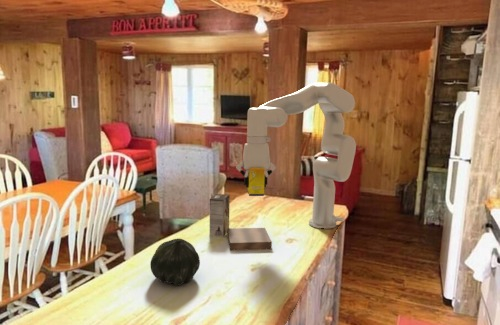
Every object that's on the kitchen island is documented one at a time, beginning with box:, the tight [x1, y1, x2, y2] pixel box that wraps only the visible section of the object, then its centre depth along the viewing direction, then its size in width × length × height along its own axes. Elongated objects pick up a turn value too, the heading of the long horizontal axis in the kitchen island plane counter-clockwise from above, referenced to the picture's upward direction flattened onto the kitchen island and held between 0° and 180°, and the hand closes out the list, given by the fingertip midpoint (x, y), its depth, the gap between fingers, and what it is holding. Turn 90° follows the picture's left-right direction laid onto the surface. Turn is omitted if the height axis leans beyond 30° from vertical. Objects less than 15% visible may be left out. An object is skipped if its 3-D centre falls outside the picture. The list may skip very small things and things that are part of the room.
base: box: [226, 227, 273, 251], centre depth 157 cm, size 16×16×3 cm
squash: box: [150, 238, 201, 286], centre depth 123 cm, size 14×15×15 cm
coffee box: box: [209, 193, 231, 238], centre depth 165 cm, size 9×6×16 cm
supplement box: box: [246, 168, 265, 197], centre depth 151 cm, size 6×6×11 cm
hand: (255, 186), depth 151 cm, fingers closed on supplement box, 6 cm apart
